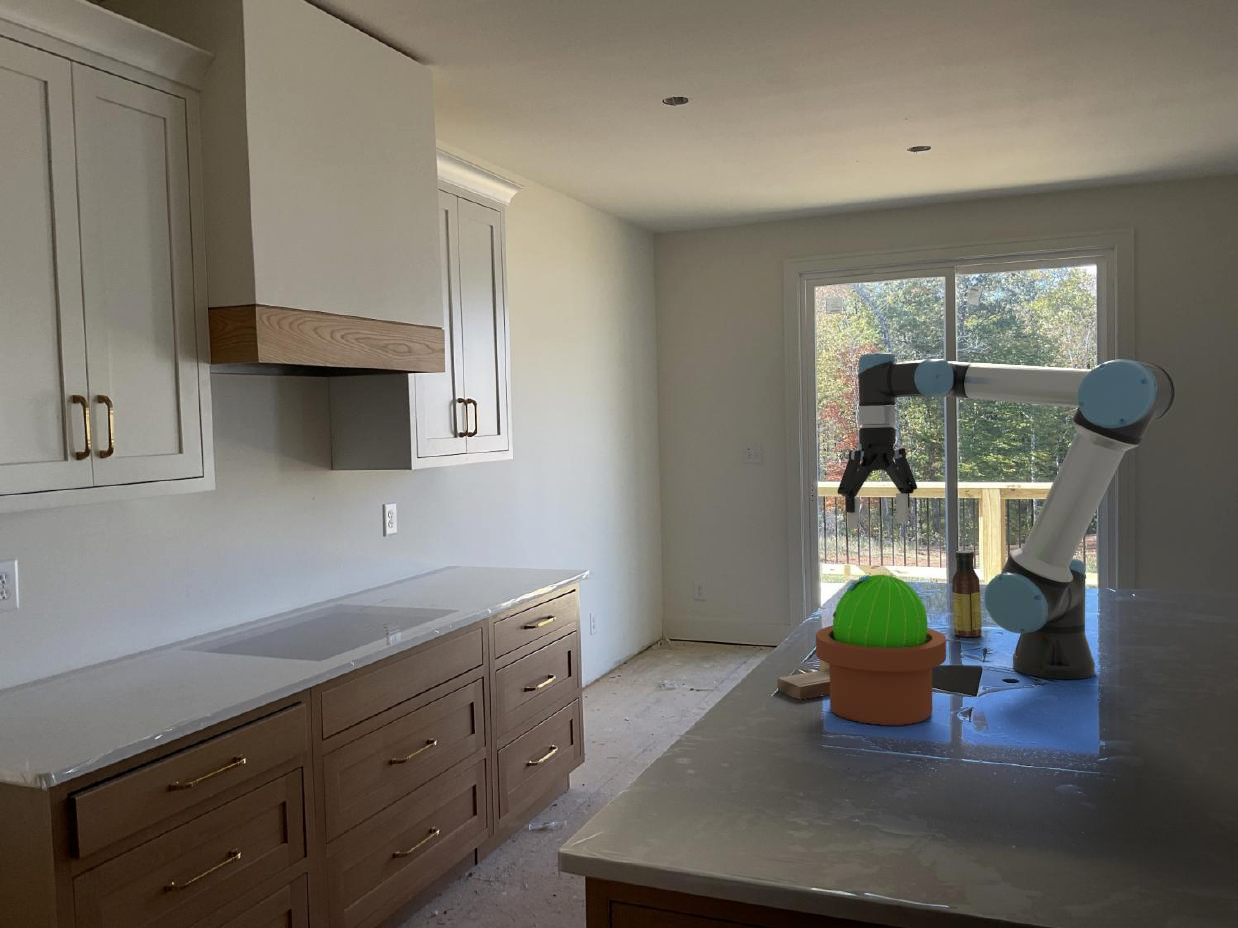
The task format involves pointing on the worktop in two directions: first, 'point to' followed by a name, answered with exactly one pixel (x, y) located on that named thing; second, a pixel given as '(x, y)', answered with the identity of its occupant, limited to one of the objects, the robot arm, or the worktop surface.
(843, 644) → the potted cactus
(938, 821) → the worktop surface
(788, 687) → the board
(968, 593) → the sauce bottle
